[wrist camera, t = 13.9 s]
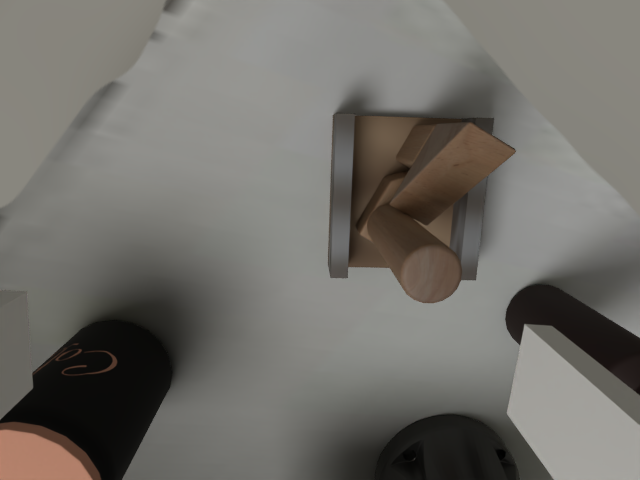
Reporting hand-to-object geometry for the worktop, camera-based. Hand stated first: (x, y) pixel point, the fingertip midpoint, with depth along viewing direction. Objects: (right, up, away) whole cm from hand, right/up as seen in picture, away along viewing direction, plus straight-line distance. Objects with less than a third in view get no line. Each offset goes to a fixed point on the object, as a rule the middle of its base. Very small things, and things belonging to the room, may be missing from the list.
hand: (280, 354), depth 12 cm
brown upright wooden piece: (+8, +8, +31) cm, 33 cm away
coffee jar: (-19, -9, +35) cm, 41 cm away
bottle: (+23, -4, +35) cm, 42 cm away
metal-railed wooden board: (+9, +7, +32) cm, 34 cm away
